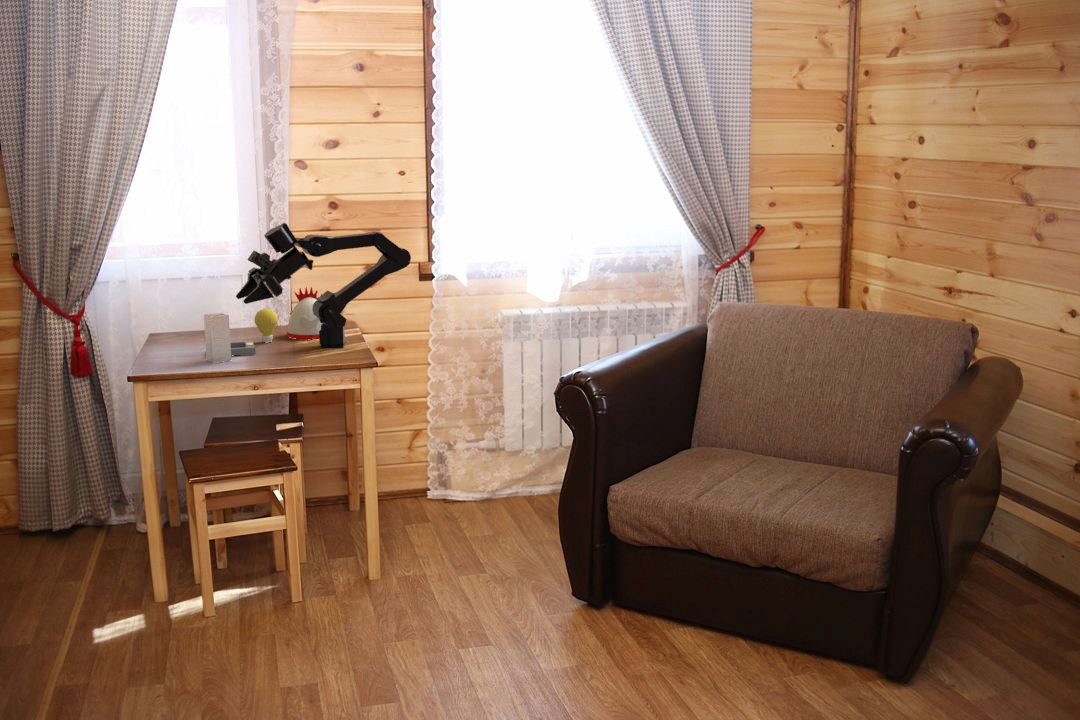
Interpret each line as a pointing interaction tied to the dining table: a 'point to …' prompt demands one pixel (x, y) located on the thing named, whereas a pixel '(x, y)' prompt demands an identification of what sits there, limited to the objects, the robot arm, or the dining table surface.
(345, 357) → the dining table surface
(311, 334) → the kitchen timer
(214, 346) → the rectangular block post
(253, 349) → the plate
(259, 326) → the light bulb
